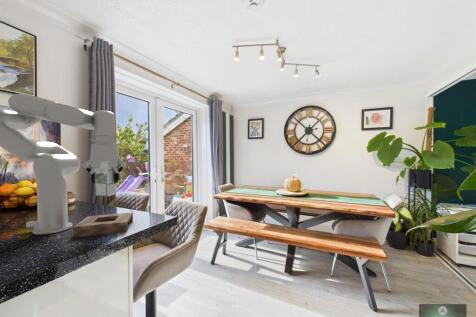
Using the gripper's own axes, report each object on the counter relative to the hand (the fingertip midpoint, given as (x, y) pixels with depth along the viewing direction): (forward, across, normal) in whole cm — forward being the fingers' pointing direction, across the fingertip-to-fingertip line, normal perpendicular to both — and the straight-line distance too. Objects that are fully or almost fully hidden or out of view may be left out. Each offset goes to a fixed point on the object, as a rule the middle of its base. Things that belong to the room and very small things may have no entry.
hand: (105, 182), depth 89 cm
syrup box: (+6, 0, 0) cm, 6 cm away
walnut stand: (+19, 0, 0) cm, 19 cm away
